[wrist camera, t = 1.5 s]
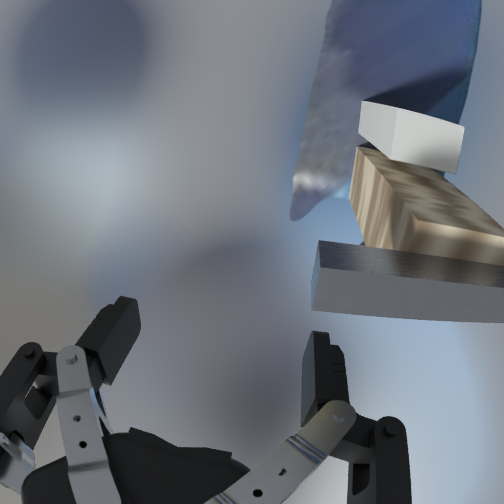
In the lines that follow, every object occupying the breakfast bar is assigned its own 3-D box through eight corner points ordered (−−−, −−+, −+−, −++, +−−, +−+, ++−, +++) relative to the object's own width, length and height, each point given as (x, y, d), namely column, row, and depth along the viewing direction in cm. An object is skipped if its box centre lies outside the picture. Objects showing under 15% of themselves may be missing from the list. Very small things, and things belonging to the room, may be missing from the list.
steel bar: (311, 280, 26) (311, 310, 23) (318, 240, 24) (320, 267, 21) (495, 298, 24) (509, 322, 20) (510, 267, 22) (528, 290, 18)
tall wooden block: (348, 197, 54) (385, 313, 27) (356, 146, 49) (417, 220, 22) (406, 206, 53) (477, 319, 26) (416, 158, 48) (514, 239, 20)
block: (358, 132, 48) (390, 159, 30) (361, 100, 45) (397, 107, 27) (404, 142, 47) (455, 174, 29) (409, 110, 44) (464, 127, 26)
